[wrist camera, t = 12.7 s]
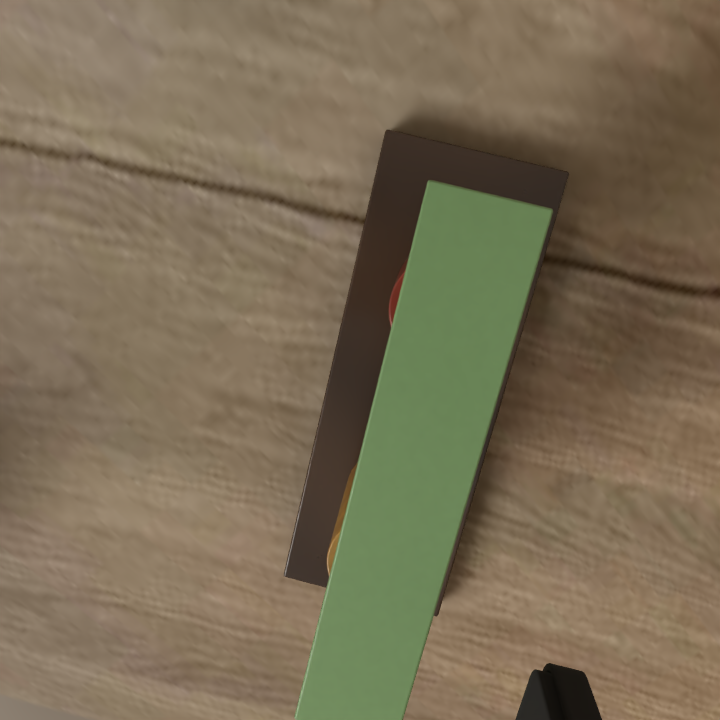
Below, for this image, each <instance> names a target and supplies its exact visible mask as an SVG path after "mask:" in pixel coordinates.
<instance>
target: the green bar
mask: <svg viewBox="0 0 720 720" xmlns="http://www.w3.org/2000/svg"><path fill="white" fill-rule="evenodd" d="M552 214H553V210H552V209H551V208H547V207H543V206H539V205H535V204H531V203H526V202H522V201H518V200H514V199H510V198H505V197H501V196H497V195H493V194H489V193H484V192H480V191H476V190H472V189H468V188H463V187H459V186H455V185H451V184H447V183H442V182H438V181H434V180H429V181H428V182H427V186H426V190H425V194H424V198H423V202H422V206H421V210H420V214H419V218H418V222H417V226H416V230H415V234H414V238H413V242H412V246H411V250H410V254H409V258H408V262H407V266H406V270H405V274H404V278H403V282H402V286H401V290H400V294H399V298H398V302H397V306H396V310H395V314H394V318H393V323H392V327H391V331H390V335H389V339H388V343H387V347H386V351H385V355H384V359H383V363H382V367H381V371H380V375H379V379H378V383H377V387H376V391H375V395H374V399H373V403H372V407H371V411H370V415H369V419H368V423H367V427H366V431H365V435H364V439H363V443H362V447H361V451H360V455H359V459H358V463H357V467H356V471H355V475H354V479H353V483H352V488H351V492H350V496H349V500H348V504H347V508H346V512H345V516H344V520H343V524H342V528H341V532H340V536H339V540H338V544H337V548H336V552H335V556H334V560H333V564H332V568H331V572H330V576H329V580H328V584H327V588H326V592H325V596H324V600H323V604H322V608H321V612H320V616H319V620H318V624H317V628H316V632H315V636H314V640H313V644H312V648H311V652H310V657H309V661H308V665H307V669H306V673H305V677H304V681H303V685H302V689H301V693H300V697H299V701H298V705H297V709H296V713H295V719H296V720H403V718H404V714H405V711H406V707H407V704H408V701H409V697H410V694H411V690H412V687H413V684H414V680H415V677H416V674H417V670H418V667H419V663H420V660H421V657H422V653H423V650H424V647H425V643H426V640H427V636H428V633H429V630H430V626H431V623H432V619H433V616H434V613H435V609H436V606H437V603H438V599H439V596H440V592H441V589H442V586H443V582H444V579H445V576H446V572H447V569H448V565H449V562H450V559H451V555H452V552H453V549H454V545H455V542H456V538H457V535H458V532H459V528H460V525H461V521H462V518H463V515H464V511H465V508H466V505H467V501H468V498H469V494H470V491H471V488H472V484H473V481H474V478H475V474H476V471H477V467H478V464H479V461H480V457H481V454H482V450H483V447H484V444H485V440H486V437H487V434H488V430H489V427H490V423H491V420H492V417H493V413H494V410H495V407H496V403H497V400H498V396H499V393H500V390H501V386H502V383H503V380H504V376H505V373H506V369H507V366H508V363H509V359H510V356H511V352H512V349H513V346H514V342H515V339H516V336H517V332H518V329H519V325H520V322H521V319H522V315H523V312H524V309H525V305H526V302H527V298H528V295H529V292H530V288H531V285H532V281H533V278H534V275H535V271H536V268H537V265H538V261H539V258H540V254H541V251H542V248H543V244H544V241H545V238H546V234H547V231H548V227H549V224H550V221H551V217H552Z"/></svg>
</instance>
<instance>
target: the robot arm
mask: <svg viewBox="0 0 720 720" xmlns="http://www.w3.org/2000/svg"><path fill="white" fill-rule="evenodd" d="M516 720H602V718H601V716H600V713H599V710H598V707H597V704H596V702H595V699H594V696H593V693H592V690H591V688H590V685H589V682H588V679H587V677H586V675H585V673H584V672H582V671H579V670H575V669H571V668H567V667H563V666H559V665H555V664H551V663H549V664H546V666H545V667H544V669H543V671H540V670H534V671H533V672H532V673H531V676H530V678H529V681H528V684H527V687H526V690H525V693H524V696H523V699H522V702H521V705H520V708H519V711H518V714H517V717H516Z"/></svg>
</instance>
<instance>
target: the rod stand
mask: <svg viewBox="0 0 720 720" xmlns="http://www.w3.org/2000/svg"><path fill="white" fill-rule="evenodd" d="M568 176H569V173H568V172H566V171H562V170H558V169H553V168H549V167H545V166H541V165H536V164H532V163H528V162H524V161H519V160H515V159H511V158H507V157H502V156H498V155H494V154H490V153H485V152H481V151H477V150H473V149H468V148H464V147H460V146H456V145H451V144H447V143H443V142H439V141H434V140H430V139H426V138H422V137H417V136H413V135H409V134H405V133H400V132H396V131H392V130H386V131H385V135H384V140H383V144H382V148H381V153H380V157H379V161H378V166H377V170H376V175H375V179H374V183H373V188H372V192H371V196H370V201H369V205H368V209H367V214H366V218H365V223H364V227H363V231H362V236H361V240H360V244H359V249H358V253H357V257H356V262H355V266H354V271H353V275H352V279H351V284H350V288H349V292H348V297H347V301H346V305H345V310H344V314H343V319H342V323H341V327H340V332H339V336H338V340H337V345H336V349H335V354H334V358H333V362H332V367H331V371H330V375H329V380H328V384H327V388H326V393H325V397H324V402H323V406H322V410H321V415H320V419H319V423H318V428H317V432H316V436H315V441H314V445H313V450H312V454H311V458H310V463H309V467H308V471H307V476H306V480H305V484H304V489H303V493H302V498H301V502H300V506H299V511H298V515H297V519H296V524H295V528H294V532H293V537H292V541H291V546H290V550H289V554H288V559H287V563H286V567H285V572H284V576H285V577H288V578H292V579H296V580H300V581H303V582H307V583H311V584H315V585H319V586H322V587H326V588H327V584H328V580H329V576H330V572H331V568H332V564H333V560H334V556H335V552H336V548H337V544H338V540H339V536H340V532H341V528H342V524H343V520H344V516H345V512H346V508H347V504H348V500H349V496H350V492H351V488H352V483H353V479H354V475H355V471H356V467H357V463H358V459H359V455H360V451H361V447H362V443H363V439H364V435H365V431H366V427H367V423H368V419H369V415H370V411H371V407H372V403H373V399H374V395H375V391H376V387H377V383H378V379H379V375H380V371H381V367H382V363H383V359H384V355H385V351H386V347H387V343H388V339H389V335H390V331H391V327H392V323H393V318H394V314H395V310H396V306H397V302H398V298H399V294H400V290H401V286H402V282H403V278H404V274H405V270H406V266H407V262H408V258H409V254H410V250H411V246H412V242H413V238H414V234H415V230H416V226H417V222H418V218H419V214H420V210H421V206H422V202H423V198H424V194H425V190H426V186H427V182H428V181H429V180H434V181H438V182H442V183H447V184H451V185H455V186H459V187H463V188H468V189H472V190H476V191H480V192H484V193H489V194H493V195H497V196H501V197H505V198H510V199H514V200H518V201H522V202H526V203H531V204H535V205H539V206H543V207H547V208H551V209H552V210H553V214H552V217H551V221H550V224H549V227H548V231H547V234H546V238H545V241H544V244H543V248H542V251H541V254H540V258H539V261H538V265H537V268H536V271H535V275H534V278H533V281H532V285H531V288H530V292H529V295H528V298H527V302H526V305H525V309H524V312H523V315H522V319H521V322H520V325H519V329H518V332H517V336H516V339H515V342H514V346H513V349H512V352H511V356H510V359H509V363H508V366H507V369H506V373H505V376H504V380H503V383H502V386H501V390H500V393H499V396H498V400H497V403H496V407H495V410H494V413H493V417H492V420H491V423H490V427H489V430H488V434H487V437H486V440H485V444H484V447H483V450H482V454H481V457H480V461H479V464H478V467H477V471H476V474H475V478H474V481H473V484H472V488H471V491H470V494H469V498H468V501H467V505H466V508H465V511H464V515H463V518H462V521H461V525H460V528H459V532H458V535H457V538H456V542H455V545H454V549H453V552H452V555H451V559H450V562H449V565H448V569H447V572H446V576H445V579H444V582H443V586H442V589H441V592H440V596H439V599H438V603H437V606H436V609H435V613H434V616H438V614H439V610H440V607H441V604H442V600H443V597H444V593H445V590H446V587H447V583H448V580H449V577H450V573H451V570H452V566H453V563H454V560H455V556H456V553H457V550H458V546H459V543H460V540H461V536H462V533H463V529H464V526H465V523H466V519H467V516H468V513H469V509H470V506H471V503H472V499H473V496H474V492H475V489H476V486H477V482H478V479H479V476H480V472H481V469H482V465H483V462H484V459H485V455H486V452H487V449H488V445H489V442H490V439H491V435H492V432H493V428H494V425H495V422H496V418H497V415H498V412H499V408H500V405H501V401H502V398H503V395H504V391H505V388H506V385H507V381H508V378H509V375H510V371H511V368H512V364H513V361H514V358H515V354H516V351H517V348H518V344H519V341H520V338H521V334H522V331H523V327H524V324H525V321H526V317H527V314H528V311H529V307H530V304H531V300H532V297H533V294H534V290H535V287H536V284H537V280H538V277H539V274H540V270H541V267H542V263H543V260H544V257H545V253H546V250H547V247H548V243H549V240H550V236H551V233H552V230H553V226H554V223H555V220H556V216H557V213H558V210H559V206H560V203H561V199H562V196H563V193H564V189H565V186H566V183H567V179H568Z"/></svg>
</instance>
